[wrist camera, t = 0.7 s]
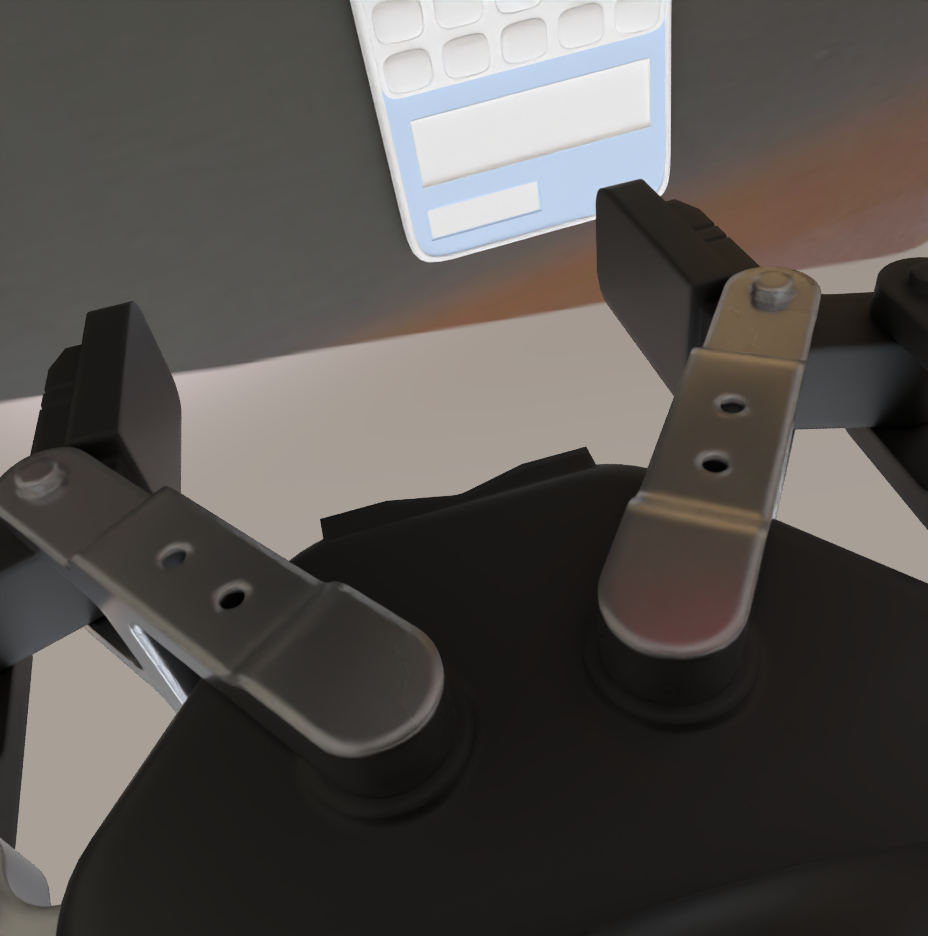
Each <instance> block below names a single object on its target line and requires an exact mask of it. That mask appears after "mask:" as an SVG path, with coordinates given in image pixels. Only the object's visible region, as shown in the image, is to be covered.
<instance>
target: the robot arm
mask: <svg viewBox="0 0 928 936" xmlns="http://www.w3.org/2000/svg"><path fill="white" fill-rule="evenodd" d="M596 243H597V273H598V280H599V285H600V289H601V292H602V295H603V297H604V299H605V301H606V303H607V305H608V306H609V307H610V309H611V310H612V311H613V313H614V314H615V316H616V317H617V318H618V320H619V321H620V322H621V324H622V325H623V326H624V328H625V329H626V331H627V332H628V333H629V335H630V336H631V338H632V339H633V340H634V342H635V343H636V344H637V346H638V347H639V348H640V350H641V351H642V353H643V354H644V356H645V357H646V358H647V360H648V361H649V362H650V364H651V365H652V367H653V368H654V369H655V371H656V372H657V373H658V375H659V376H660V378H661V379H662V380H663V382H664V383H665V384H666V386H667V387H668V388H669V390H670V391H671V393H672V394H673V395H674V399H673V401H672V404H671V407H670V409H669V412H668V415H667V417H666V420H665V423H664V425H663V428H662V431H661V433H660V436H659V439H658V442H657V444H656V447H655V450H654V453H653V455H652V458H651V461H650V463H649V466H648V468H643V467H638V466H631V465H622V464H599V465H596V464H595V462H594V460H593V458H592V457H591V455H590V453H589V451H588V449H587V447H583V448H579V449H576V450H572V451H568V452H565V453H562V454H557V455H554V456H550V457H546V458H543V459H539V460H535V461H532V462H528V463H524V464H521V465H519V466H517V467H515V468H513V469H511V470H509V471H507V472H505V473H503V474H501V475H499V476H497V477H495V478H493V479H491V480H489V481H487V482H485V483H483V484H481V485H479V486H477V487H475V488H473V489H471V490H469V491H467V492H464V493H462V494H458V495H453V496H442V497H430V498H417V499H404V500H392V501H385V502H381V503H377V504H374V505H370V506H366V507H363V508H359V509H355V510H352V511H348V512H345V513H341V514H337V515H333V516H330V517H326V518H322V519H320V521H321V527H322V533H323V540H321V541H319V542H317V543H315V544H313V545H312V546H310V547H309V548H307V549H305V550H303V551H302V552H300V553H299V554H298V555H296V556H295V557H294V558H292V559H291V560H290V561H288V560H286V559H285V558H283V557H281V556H280V555H278V554H277V553H275V552H273V551H272V550H270V549H269V548H267V547H265V546H264V545H262V544H261V543H259V542H257V541H256V540H254V539H253V538H251V537H249V536H248V535H246V534H245V533H243V532H241V531H240V530H238V529H237V528H235V527H234V526H232V525H230V524H229V523H227V522H226V521H224V520H222V519H221V518H219V517H218V516H216V515H214V514H213V513H211V512H210V511H208V510H206V509H205V508H203V507H202V506H200V505H199V504H197V503H195V502H194V501H192V500H191V499H189V498H187V497H186V496H184V495H183V494H181V405H180V399H179V395H178V391H177V388H176V385H175V382H174V380H173V377H172V375H171V373H170V370H169V368H168V366H167V364H166V362H165V360H164V358H163V356H162V353H161V351H160V349H159V347H158V345H157V343H156V341H155V339H154V337H153V334H152V332H151V330H150V328H149V326H148V324H147V322H146V320H145V317H144V315H143V313H142V311H141V310H140V308H139V306H138V305H137V304H136V303H135V302H134V301H131V302H127V303H123V304H119V305H115V306H110V307H106V308H102V309H98V310H94V311H90V312H88V313H87V316H86V321H85V327H84V333H83V339H82V345H78V346H74V347H69V348H65V350H64V351H63V352H62V353H61V355H60V356H59V357H58V358H57V360H56V361H55V362H54V363H53V365H52V366H51V367H50V369H49V370H48V375H47V380H46V384H45V389H44V390H45V393H44V394H43V398H42V403H41V407H42V410H40V412H39V417H38V422H37V426H36V431H35V436H34V440H33V445H32V450H31V454H30V456H28V457H26V458H24V459H23V460H21V461H20V462H18V463H16V464H15V465H14V466H12V467H11V468H10V469H9V470H7V472H5V473H4V474H3V475H2V476H1V477H0V936H928V583H925V582H923V581H921V580H918V579H916V578H914V577H911V576H909V575H906V574H904V573H902V572H899V571H897V570H894V569H892V568H890V567H887V566H885V565H882V564H880V563H877V562H875V561H873V560H871V559H868V558H866V557H864V556H861V555H859V554H856V553H854V552H852V551H849V550H846V549H845V548H842V547H840V546H837V545H835V544H833V543H830V542H828V541H825V540H823V539H821V538H818V537H816V536H814V535H811V534H809V533H807V532H804V531H802V530H799V529H797V528H795V527H792V526H790V525H788V524H785V523H783V522H780V521H778V520H776V518H777V513H778V508H779V503H780V499H781V495H782V490H783V485H784V480H785V476H786V471H787V466H788V462H789V457H790V452H791V448H792V443H793V438H794V433H795V429H824V428H825V429H826V428H845V429H846V430H847V432H848V434H849V435H850V436H851V437H852V438H853V440H854V441H855V442H856V443H857V445H858V446H859V447H860V448H861V449H862V451H863V452H864V453H865V454H866V455H867V457H868V458H869V459H870V460H871V462H872V463H873V464H874V465H875V466H876V468H877V469H878V470H879V471H880V472H881V474H882V475H883V476H884V477H885V479H886V480H887V481H888V482H889V483H890V485H891V486H892V487H893V488H894V489H895V491H896V492H897V493H898V494H899V495H900V497H901V498H902V499H903V500H904V502H905V503H906V504H907V505H908V507H909V508H910V509H911V510H912V511H913V513H914V514H915V515H916V516H917V517H918V519H919V520H920V521H921V522H922V524H923V525H924V526H925V527H926V528H927V530H928V258H925V257H918V258H908V259H902V260H899V261H895V262H893V263H890V264H888V265H887V266H885V267H884V268H883V269H882V270H881V271H880V272H879V274H878V277H877V281H876V286H875V289H874V292H868V293H849V294H821V289H820V286H819V285H818V283H817V282H816V281H815V280H814V279H813V278H811V277H809V276H808V275H806V274H804V273H802V272H799V271H796V270H793V269H789V268H783V267H760V266H759V265H758V264H757V263H756V262H755V261H754V260H753V259H752V258H750V257H749V256H748V255H747V254H746V253H745V252H744V251H743V250H742V249H741V248H740V247H739V246H738V245H737V244H736V243H735V242H734V241H732V240H731V239H730V238H727V237H726V234H725V233H724V232H723V231H722V230H721V229H720V228H719V227H718V226H714V223H713V222H712V221H711V220H710V219H709V218H708V217H707V216H706V215H705V214H704V213H703V212H702V211H701V210H700V209H698V208H695V207H693V206H690V205H688V204H685V203H683V202H680V201H678V200H675V199H674V200H670V201H666V202H665V201H664V200H663V199H662V198H661V197H660V196H659V195H658V194H657V193H656V192H655V191H654V190H653V189H652V188H651V187H650V186H649V185H648V184H647V183H646V182H645V181H644V180H643V179H637V180H633V181H628V182H624V183H620V184H616V185H612V186H608V187H604V188H600V189H599V190H598V192H597V195H596ZM82 627H84V628H85V629H86V630H87V631H88V632H89V633H90V634H91V635H92V636H94V637H95V638H96V639H97V640H98V641H99V642H100V643H102V644H103V645H104V646H105V647H106V648H107V649H109V650H110V651H111V652H112V653H113V654H115V655H116V656H117V657H118V658H119V659H120V660H121V661H123V662H124V663H125V664H126V665H127V666H128V667H130V668H131V669H132V670H133V671H134V672H135V673H136V674H138V675H139V676H140V677H141V678H143V680H145V681H146V682H147V683H148V684H149V685H150V686H152V687H153V688H154V689H155V690H156V691H157V692H158V693H159V694H160V695H161V696H162V697H163V698H164V699H165V700H166V702H167V703H168V704H169V705H170V706H171V707H172V708H173V710H174V711H175V712H176V713H177V714H176V716H175V717H174V719H173V720H172V721H171V723H170V724H169V726H168V727H167V729H166V730H165V732H164V733H163V735H162V736H161V738H160V739H159V741H158V742H157V744H156V745H155V747H154V748H153V750H152V751H151V752H150V754H149V755H148V757H147V758H146V760H145V761H144V763H143V764H142V766H141V767H140V769H139V770H138V772H137V773H136V774H135V776H134V777H133V779H132V780H131V782H130V783H129V785H128V786H127V788H126V789H125V791H124V792H123V794H122V795H121V796H120V798H119V799H118V801H117V802H116V804H115V805H114V807H113V808H112V810H111V811H110V813H109V814H108V816H107V817H106V819H105V820H104V821H103V823H102V824H101V826H100V827H99V829H98V830H97V832H96V833H95V835H94V836H93V838H92V839H91V841H90V842H89V844H88V846H87V847H86V849H85V851H84V852H83V854H82V855H81V857H80V859H79V860H78V863H77V865H76V867H75V869H74V871H73V873H72V875H71V877H70V880H69V882H68V885H67V888H66V892H65V894H64V897H63V900H62V904H61V905H56V906H51V903H50V893H49V886H48V883H47V880H46V878H45V876H44V875H43V873H42V872H41V871H40V870H39V869H38V868H37V867H36V866H35V865H34V864H32V863H31V862H30V861H28V860H27V859H26V858H25V857H23V856H22V855H21V854H20V853H18V852H17V851H16V850H15V844H16V833H17V823H18V812H19V800H20V790H21V779H22V768H23V757H24V746H25V736H26V725H27V714H28V703H29V693H30V681H31V669H32V659H33V656H32V654H34V653H36V652H38V651H39V650H41V649H43V648H45V647H47V646H49V645H51V644H52V643H54V642H56V641H58V640H60V639H62V638H63V637H65V636H67V635H69V634H71V633H73V632H74V631H76V630H78V629H80V628H82Z"/></svg>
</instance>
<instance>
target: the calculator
mask: <svg viewBox="0 0 928 936" xmlns="http://www.w3.org/2000/svg"><path fill="white" fill-rule="evenodd" d="M350 4H351V8H352V12H353V16H354V21H355V25H356V29H357V33H358V38H359V42H360V46H361V50H362V55H363V59H364V63H365V67H366V72H367V76H368V80H369V84H370V89H371V93H372V97H373V101H374V105H375V110H376V114H377V118H378V122H379V127H380V131H381V135H382V139H383V144H384V148H385V152H386V156H387V161H388V165H389V169H390V173H391V178H392V182H393V186H394V190H395V194H396V199H397V203H398V207H399V211H400V215H401V220H402V224H403V227H404V231H405V234H406V238H407V241H408V243H409V245H410V247H411V249H412V251H413V253H414V254H415V255H416V256H417V257H418V258H419V259H420V260H423V261H426V262H440V261H445V260H450V259H454V258H458V257H461V256H465V255H469V254H472V253H476V252H479V251H483V250H487V249H490V248H494V247H497V246H501V245H505V244H508V243H512V242H515V241H519V240H523V239H526V238H530V237H533V236H537V235H541V234H544V233H548V232H551V231H555V230H559V229H562V228H566V227H569V226H573V225H577V224H580V223H584V222H587V221H591V220H595V219H596V195H597V192H598V190H599V189H600V188H604V187H608V186H612V185H616V184H620V183H624V182H628V181H633V180H637V179H643V180H644V181H645V182H646V183H647V184H648V185H649V186H650V187H651V188H652V189H653V190H654V191H655V192H656V193H657V194H658V195H659V196H661V195H662V194H663V193H664V191H665V189H666V187H667V185H668V180H669V174H670V152H671V0H350Z"/></svg>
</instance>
